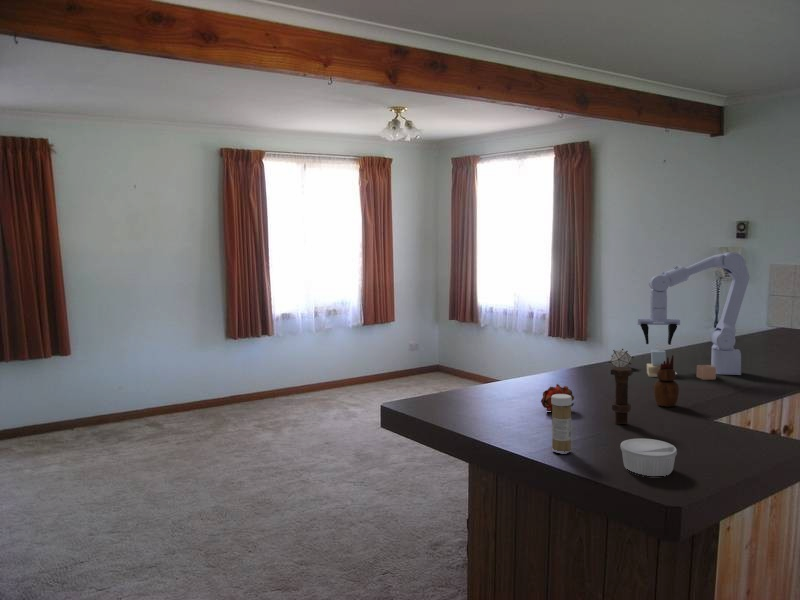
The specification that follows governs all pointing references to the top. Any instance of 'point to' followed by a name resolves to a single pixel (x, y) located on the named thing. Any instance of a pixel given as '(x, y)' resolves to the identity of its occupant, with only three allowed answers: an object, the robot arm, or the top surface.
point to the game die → (621, 359)
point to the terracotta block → (706, 372)
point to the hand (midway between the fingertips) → (658, 344)
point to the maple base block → (652, 370)
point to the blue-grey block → (658, 357)
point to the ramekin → (648, 456)
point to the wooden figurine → (666, 385)
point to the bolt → (621, 394)
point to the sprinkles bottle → (561, 422)
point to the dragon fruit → (552, 391)
